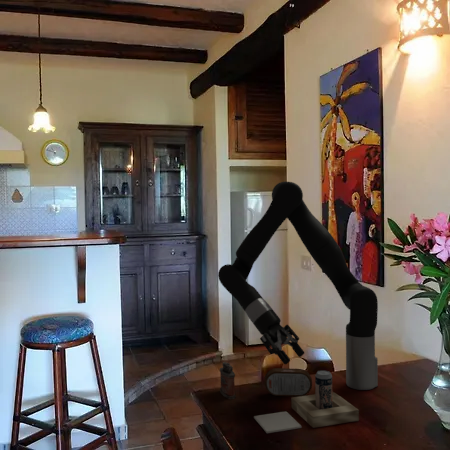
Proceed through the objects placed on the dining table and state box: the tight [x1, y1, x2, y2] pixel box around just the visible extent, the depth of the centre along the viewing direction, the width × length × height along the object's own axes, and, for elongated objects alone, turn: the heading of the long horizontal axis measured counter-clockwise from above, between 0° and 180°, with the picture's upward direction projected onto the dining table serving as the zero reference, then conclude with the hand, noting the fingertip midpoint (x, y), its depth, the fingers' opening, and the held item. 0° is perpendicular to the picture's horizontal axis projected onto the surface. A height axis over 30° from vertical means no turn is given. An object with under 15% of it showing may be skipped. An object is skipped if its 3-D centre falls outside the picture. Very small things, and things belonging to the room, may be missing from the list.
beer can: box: [314, 370, 333, 410], centre depth 140 cm, size 5×5×12 cm
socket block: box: [290, 391, 360, 429], centre depth 141 cm, size 14×14×3 cm
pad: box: [253, 410, 302, 434], centre depth 135 cm, size 10×10×1 cm
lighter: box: [219, 361, 236, 400], centre depth 156 cm, size 8×3×10 cm, turn 23°
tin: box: [264, 367, 313, 397], centre depth 155 cm, size 15×3×8 cm, turn 84°
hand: (295, 358), depth 146 cm, fingers open, 8 cm apart
